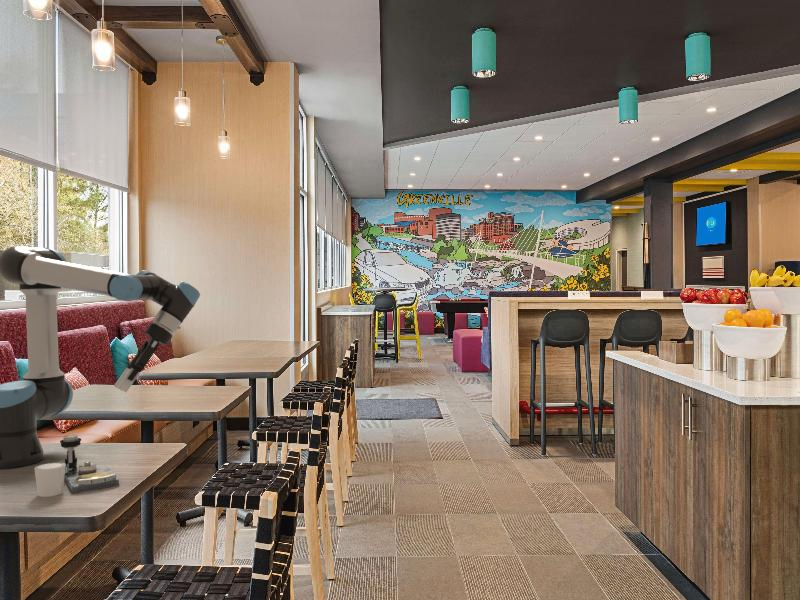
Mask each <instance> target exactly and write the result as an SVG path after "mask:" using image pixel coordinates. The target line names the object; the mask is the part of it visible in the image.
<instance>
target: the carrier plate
mask: <svg viewBox="0 0 800 600" xmlns="http://www.w3.org/2000/svg"><path fill="white" fill-rule="evenodd" d="M64 482H65V483H66V485H67V486H68V488H69V490H70V492H71V493H72V494H75V493H83V492H87V491H93V490H94V491H95V490H98V489H104V488H111V487H116V486H120V479H119V478H118V477H117V474H115V473H114V472H113V471H112V470H111V469H110V467H109V466H102V467H97V463H95V462H91V461H85V462H84V463H83V464H80V465H78V470H75V472H68V473H67V472H65V475H64Z"/></svg>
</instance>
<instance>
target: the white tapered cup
mask: <svg viewBox="0 0 800 600" xmlns="http://www.w3.org/2000/svg"><path fill="white" fill-rule="evenodd" d="M65 466H66V464H65V462H49V463H43V464H39V465H36V466H35V467H34V468H33V469H34V477H35V483H36V492H37V496H38V497H41V498H48V497H54V496H58V495H61V494H63V492H64V485H65V480H64V475H65V473H66V472H65Z"/></svg>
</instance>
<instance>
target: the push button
mask: <svg viewBox="0 0 800 600" xmlns="http://www.w3.org/2000/svg"><path fill="white" fill-rule="evenodd" d="M81 441H82V438H81V437H79V436H78V435H76V434H71V435H65V436H63V439H61V440H59V443H60V446H61V447H62V448H63V449H66V450H67V451H66V458H65V459H64V464H65V473H68V472H75V471H78V464H77V463H78V458H77V457H76V454H75V453H76V451H75V448H78V447H79V446H80V445H81Z"/></svg>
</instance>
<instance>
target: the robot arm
mask: <svg viewBox="0 0 800 600" xmlns="http://www.w3.org/2000/svg"><path fill="white" fill-rule="evenodd" d="M0 276H2V278H3V279H4V280H6V281H7V282H9V283H13V284H17V285H18V284H19V291H20V292H21V294H23V295H24V296H25V313H26V314H25V316H26V317H25V318H26V338H27V339H26V341H27V342H26V343H27V366H28V368H27V369H28V371H27V372H26V373H25V374H24V375H23V377H22V380H15V381H9V382H5V383H0V469H12V468H18V467H19V468H20V467H25V466H29V465H32V464H33V465H34V464H36V463H40V462H41V461H43V460H44V459H45V456H44V455H45V452H44V449H43V446H42V443H41V442H40V439H39V437H38V433H37V428H38V427H37V421H40V420H43V419H47V418H51V417H54V416H58V415H59V414H61V413H63V412H65V411H66V410H67V409H68V408H69V406H70V405H71V403H72V401H73V397H74V391H73V387H72V385H71V384H70V383H69V381H68V380H66V377H65V376H66V374H65V372H64V371H62V370H61V369H60V362H59V361H60V357H59V336H58V335H59V334H58V333H59V332H58V331H59V329H58V328H59V327H58V305H57V303H58V302H57V295H58V294H59V293H60V291H61V290H62V289H63V288H64V289H70V290H74V291H79V292H85V293H88V294H89V293H91V294H95V295H101V296H105V297H111V298H114V299H116V300H118V301H121V302H133V301H134V302H135V301H149V300H150V301H152V302H153V303H156V304H157V305H159V306H161V308H160V309H159V311H157V313H156V315H155V316H154V317H153V318H152V322H151V323H149V325H148V326H147V328H146V329H145V331H144V334H145V335H146V336H147V337H149V339H148V340H146V341H143V343H142V345H141V347H140V348H139V349H138V351H137V353H136V354H135V355H134V357H133V358H132V359H131V361H130V362H128V364H127V367H126V368H125V369H124V371H123V372H122V373H121V374H120V376H119V377H118V380H116V382H115V384H114V385H113V387H115V388H117V389H118V390H120V391H121V392H122V391H123V392H124V393H127V392H128V391H129V389H130V388H131V387H132V385H133V384H134V382H135V381H136V380H137V378H138V376H139V375H140V373H141V372H142V371H143V370H144V369H145V368H146V366H147V364H148V362H149V361H150V360H151V358H152V357H153V355H154V354H155V352H156V351H157V350H158V347H159V346H160V345H163V346H167V345H168V344H169V342H170V341H171V340H172V339H173V335H174V334H175V333H176V332H177V330H181V328H182V327H181V324H182V323H183V322H184V320H185V319H186V318H187V316H188V315H189V313H190V312H191V311H192V310H193V308H195V305H196V304H197V302H198V300H199V299H200V297H201V294H200V291H199V290H198V289H197V288H196V287H194V286H193V285H191V284H190V283H188V282H186V281H180V282H179V283H178V284H173V283H171V282H170V281H168V280H166V279H165V278H162V277H160V276H159V275H157V274H156V273H154V272H151V271H149V270H146V269H143V270H140V271H139V272H137V273H136V274H132V273H131V274H130V273H125V272H119V271H113V270H108V269H103V268H97V267H92V266H88V265H83V264H78V263H77V264H76V263H74V262H73V263H71V262H67V259H66V258H65V255H63V254H62V253H60V251H58V250H56V249H52V248H48V247H42V246H41V247H40V246H39V247H36V246H25V245H15V246H10V247H9V248H7V249H5V250H4V251H2V252H1V254H0Z"/></svg>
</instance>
